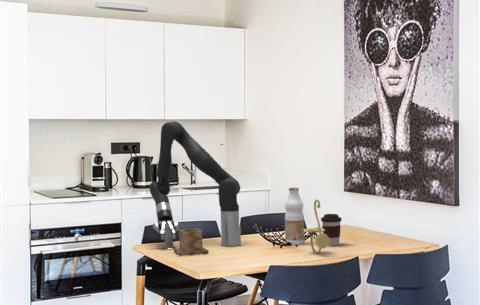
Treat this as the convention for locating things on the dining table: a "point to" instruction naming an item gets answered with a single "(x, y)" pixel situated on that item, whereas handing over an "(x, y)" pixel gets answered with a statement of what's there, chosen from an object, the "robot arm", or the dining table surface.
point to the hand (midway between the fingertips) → (168, 240)
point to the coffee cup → (332, 228)
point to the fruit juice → (294, 218)
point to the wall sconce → (322, 238)
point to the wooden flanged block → (190, 243)
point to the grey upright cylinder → (168, 238)
